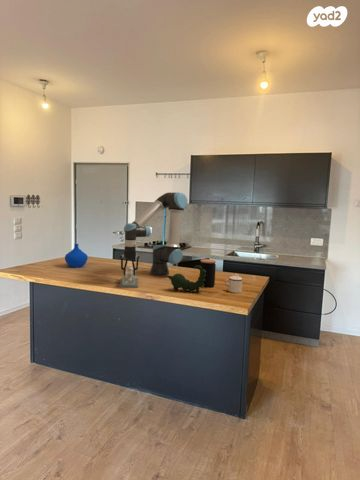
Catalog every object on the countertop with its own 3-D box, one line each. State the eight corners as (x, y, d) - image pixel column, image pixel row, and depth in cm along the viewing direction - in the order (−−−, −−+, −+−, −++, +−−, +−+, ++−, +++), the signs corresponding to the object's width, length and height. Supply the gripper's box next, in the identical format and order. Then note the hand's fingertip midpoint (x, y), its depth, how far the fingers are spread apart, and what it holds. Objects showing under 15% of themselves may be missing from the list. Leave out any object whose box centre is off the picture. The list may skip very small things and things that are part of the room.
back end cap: (135, 278, 240) (135, 270, 240) (135, 279, 237) (135, 271, 237) (123, 277, 239) (123, 270, 238) (123, 278, 236) (123, 271, 236)
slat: (132, 275, 240) (132, 267, 239) (131, 282, 218) (131, 273, 218) (126, 275, 239) (127, 267, 239) (125, 282, 218) (125, 273, 217)
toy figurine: (203, 293, 219) (167, 286, 223) (207, 265, 217) (170, 259, 221) (202, 297, 210) (163, 290, 214) (206, 268, 208) (167, 261, 211)
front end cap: (135, 284, 222) (135, 276, 222) (135, 285, 219) (135, 277, 219) (122, 284, 221) (122, 276, 221) (122, 285, 218) (122, 277, 218)
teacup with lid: (243, 290, 223) (244, 273, 222) (240, 293, 215) (241, 276, 214) (225, 288, 228) (226, 271, 226) (222, 291, 219) (223, 274, 218)
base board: (138, 279, 241) (138, 277, 241) (137, 287, 219) (138, 285, 219) (121, 279, 240) (121, 277, 239) (119, 287, 218) (119, 285, 218)
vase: (65, 264, 286) (65, 242, 284) (87, 264, 291) (87, 242, 289) (64, 268, 268) (64, 245, 266) (87, 268, 274) (88, 245, 272)
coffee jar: (205, 283, 240) (206, 258, 238) (217, 286, 233) (218, 260, 231) (196, 285, 231) (197, 260, 229) (208, 288, 225) (210, 262, 223)
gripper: (142, 245, 231) (141, 278, 234) (117, 244, 229) (116, 278, 231) (142, 247, 224) (141, 281, 226) (117, 246, 222) (116, 280, 224)
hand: (129, 279), depth 229 cm, fingers closed on slat, 4 cm apart
